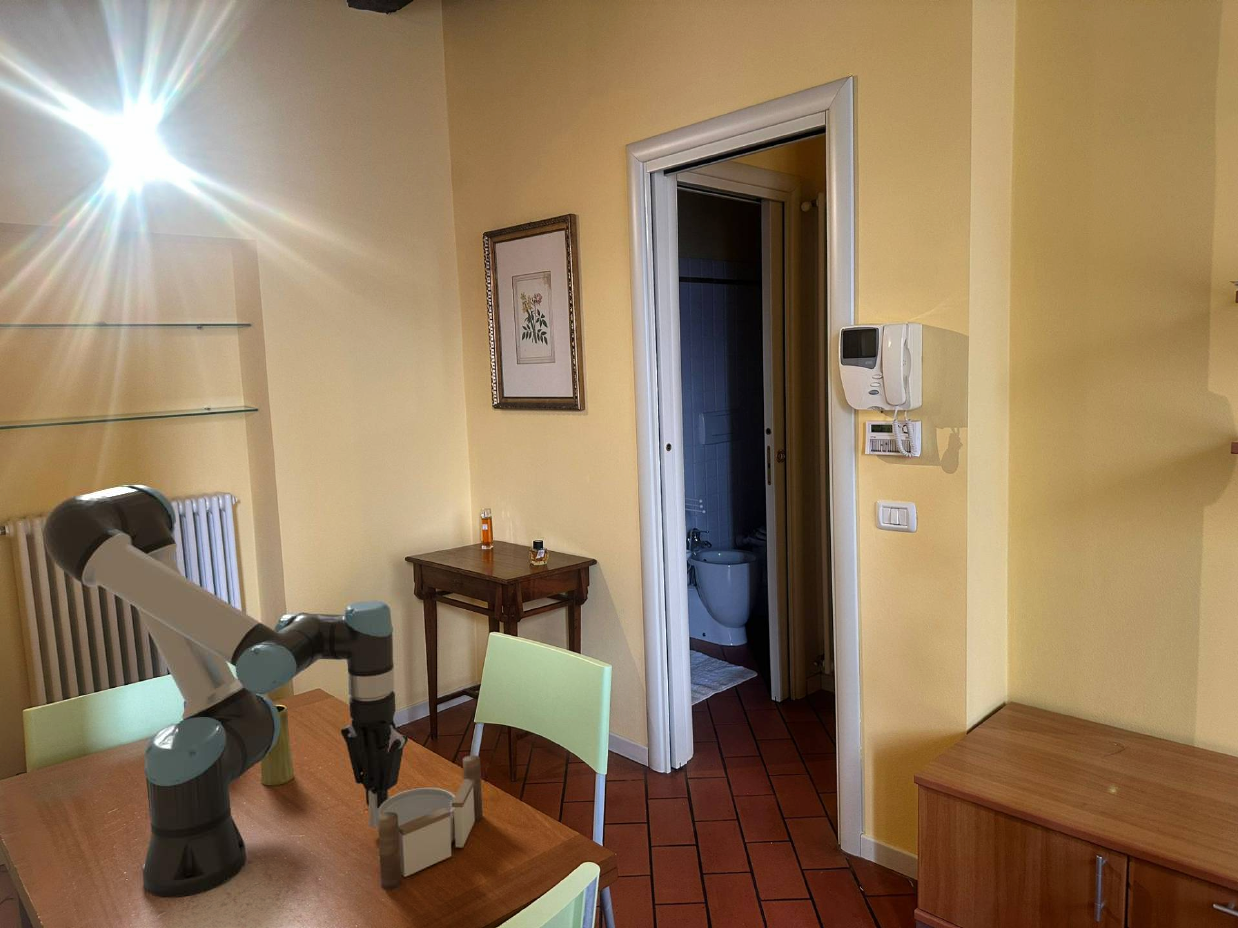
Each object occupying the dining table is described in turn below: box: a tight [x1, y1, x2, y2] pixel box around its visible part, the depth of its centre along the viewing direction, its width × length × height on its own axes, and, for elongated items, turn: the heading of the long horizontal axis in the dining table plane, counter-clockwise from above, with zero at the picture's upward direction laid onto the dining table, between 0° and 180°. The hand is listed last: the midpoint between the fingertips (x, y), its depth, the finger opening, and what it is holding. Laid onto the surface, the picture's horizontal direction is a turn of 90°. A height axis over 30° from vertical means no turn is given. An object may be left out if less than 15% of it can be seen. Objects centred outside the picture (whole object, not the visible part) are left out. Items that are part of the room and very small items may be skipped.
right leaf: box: [452, 778, 476, 848], centre depth 152 cm, size 8×2×8 cm, turn 176°
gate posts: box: [377, 754, 484, 890], centre depth 149 cm, size 25×3×11 cm, turn 154°
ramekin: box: [378, 787, 456, 849], centre depth 151 cm, size 13×13×7 cm
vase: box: [260, 704, 295, 787], centre depth 176 cm, size 6×6×14 cm
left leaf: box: [398, 808, 452, 877], centre depth 143 cm, size 8×2×8 cm, turn 132°
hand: (378, 823), depth 155 cm, fingers closed
